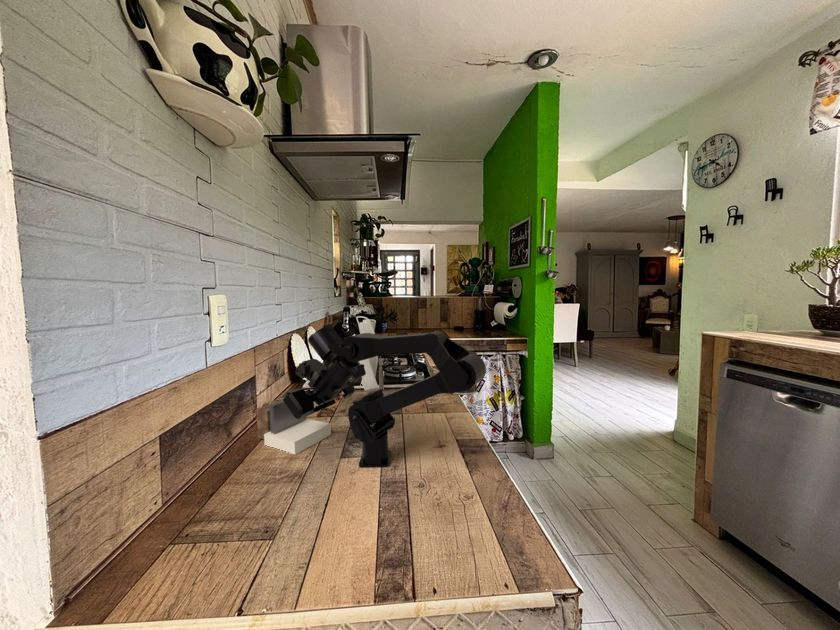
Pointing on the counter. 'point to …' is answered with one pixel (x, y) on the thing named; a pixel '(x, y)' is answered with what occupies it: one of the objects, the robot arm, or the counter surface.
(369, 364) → the skyscraper
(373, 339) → the robot arm
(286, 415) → the grey piece
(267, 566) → the counter surface
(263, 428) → the block
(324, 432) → the door block
